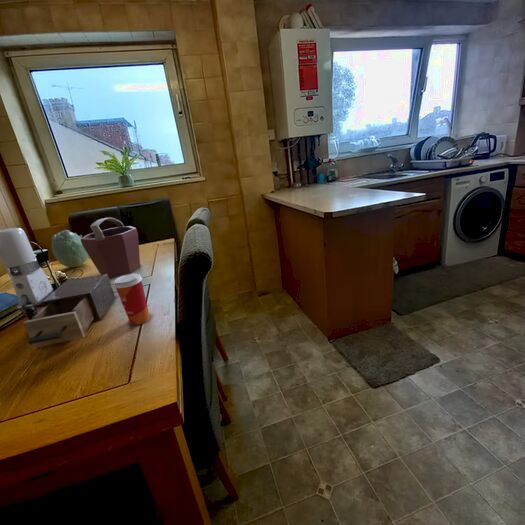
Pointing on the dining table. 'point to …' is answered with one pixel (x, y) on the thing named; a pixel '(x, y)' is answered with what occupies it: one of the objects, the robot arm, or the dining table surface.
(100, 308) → the cabinet
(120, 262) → the bucket
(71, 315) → the drawer
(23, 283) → the robot arm
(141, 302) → the paper cup
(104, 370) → the dining table surface
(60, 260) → the cabbage
